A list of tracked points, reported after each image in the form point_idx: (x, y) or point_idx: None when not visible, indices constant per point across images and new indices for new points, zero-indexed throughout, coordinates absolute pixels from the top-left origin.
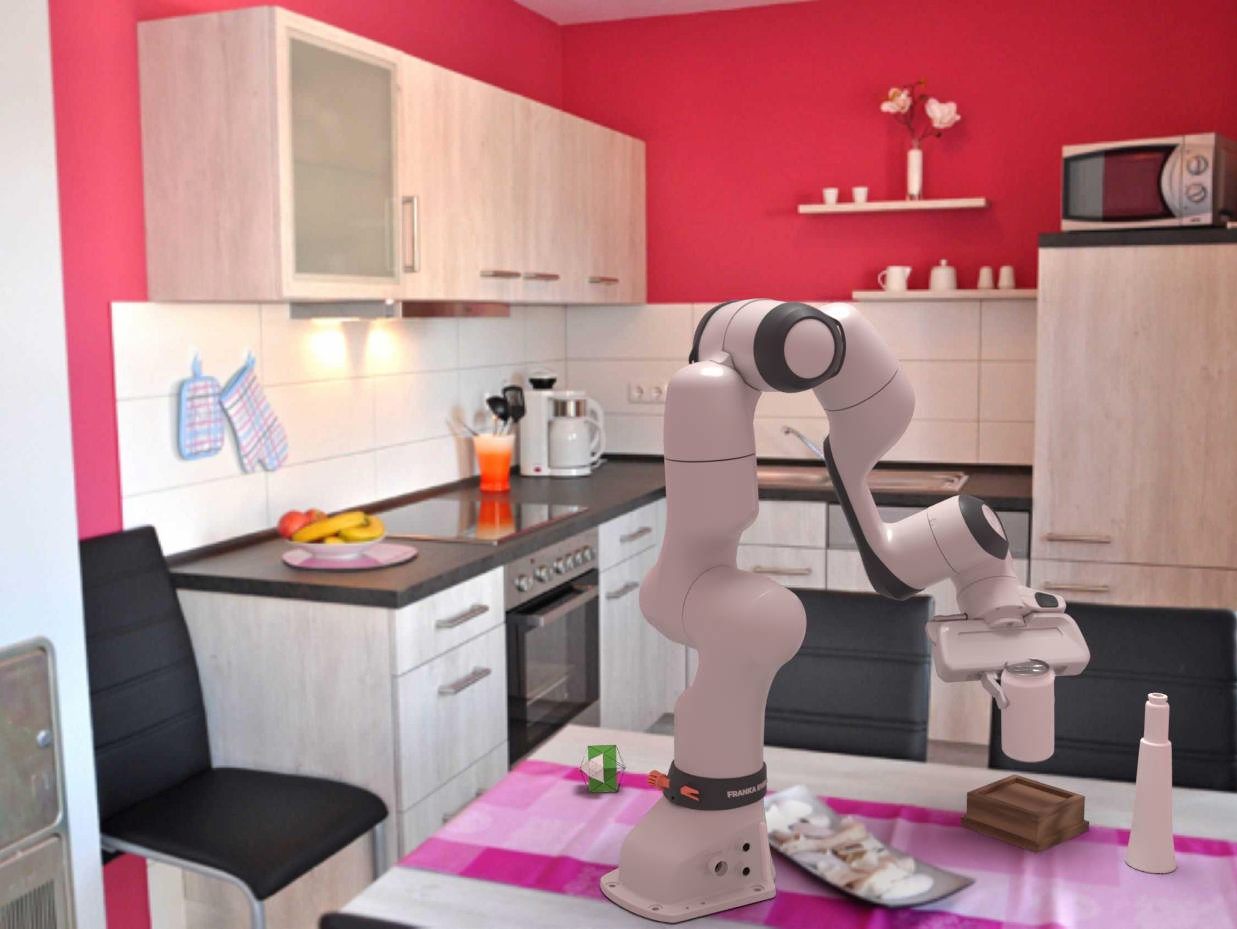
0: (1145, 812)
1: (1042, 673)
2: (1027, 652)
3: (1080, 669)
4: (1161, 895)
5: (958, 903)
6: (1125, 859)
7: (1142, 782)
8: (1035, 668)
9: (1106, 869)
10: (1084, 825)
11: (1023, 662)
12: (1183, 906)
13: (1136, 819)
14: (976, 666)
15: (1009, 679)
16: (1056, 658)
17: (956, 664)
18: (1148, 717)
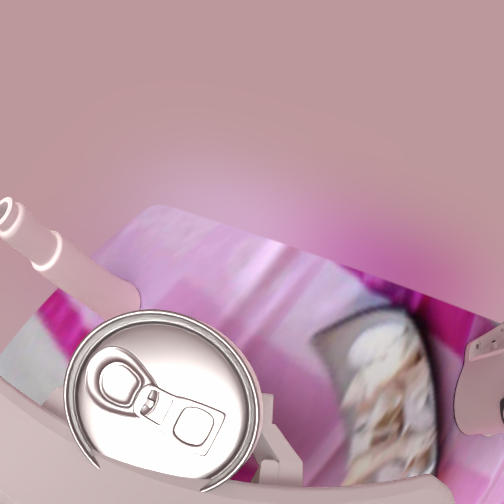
0: (109, 277)
1: (151, 310)
2: (78, 483)
3: None
4: (163, 249)
5: (351, 298)
6: None
7: (92, 270)
8: (126, 385)
9: None
10: None
11: (129, 461)
12: (164, 227)
13: (115, 292)
14: (351, 492)
15: (259, 399)
16: (11, 402)
17: (423, 489)
18: (34, 229)
